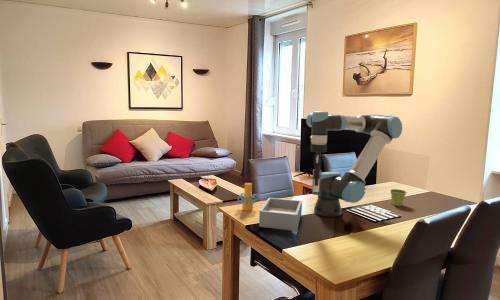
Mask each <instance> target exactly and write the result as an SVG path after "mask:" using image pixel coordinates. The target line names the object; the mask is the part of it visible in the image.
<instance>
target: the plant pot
mask: <svg viewBox="0 0 500 300" xmlns="http://www.w3.org/2000/svg"><path fill="white" fill-rule="evenodd" d="M389 192H390V195H391V196H390V197H391V205H393V206H395V207H402V206H403V204H404V199H405V196H406V194H407V193H408V192H407V190H404V189H399V188H398V189H397V188H392V189H390V190H389Z"/></svg>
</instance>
